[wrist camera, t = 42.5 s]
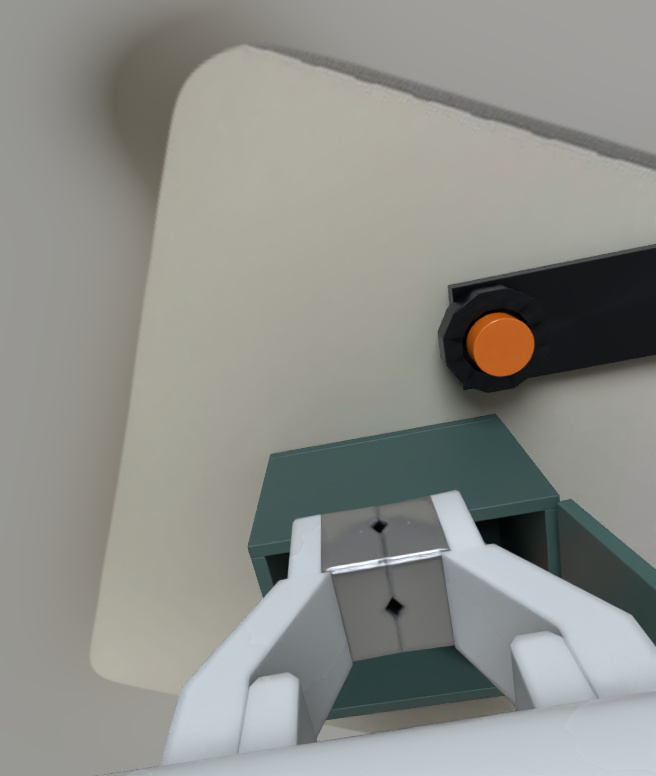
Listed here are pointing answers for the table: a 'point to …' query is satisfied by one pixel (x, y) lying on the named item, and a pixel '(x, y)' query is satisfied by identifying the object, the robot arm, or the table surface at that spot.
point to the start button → (500, 344)
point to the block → (559, 315)
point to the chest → (401, 483)
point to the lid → (606, 566)
